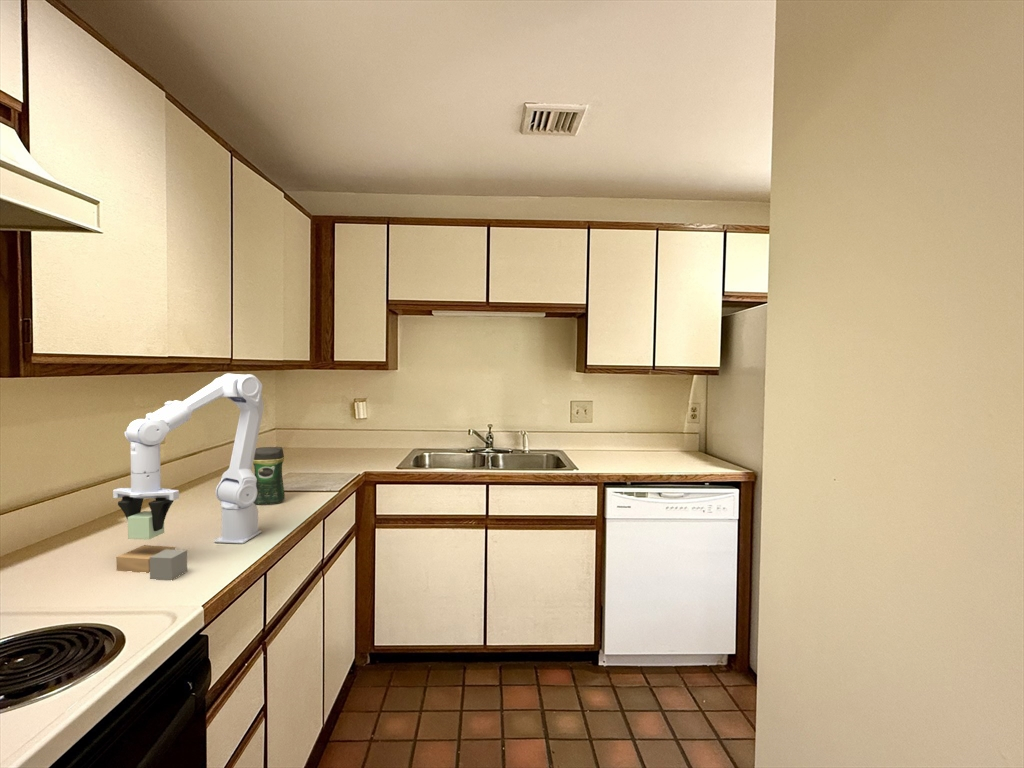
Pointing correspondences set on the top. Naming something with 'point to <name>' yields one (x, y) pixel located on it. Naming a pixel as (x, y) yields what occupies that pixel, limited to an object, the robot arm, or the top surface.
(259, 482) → the coffee jar
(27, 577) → the top surface
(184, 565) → the charcoal cube
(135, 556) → the walnut base
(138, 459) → the robot arm
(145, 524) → the sage cube
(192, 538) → the top surface
